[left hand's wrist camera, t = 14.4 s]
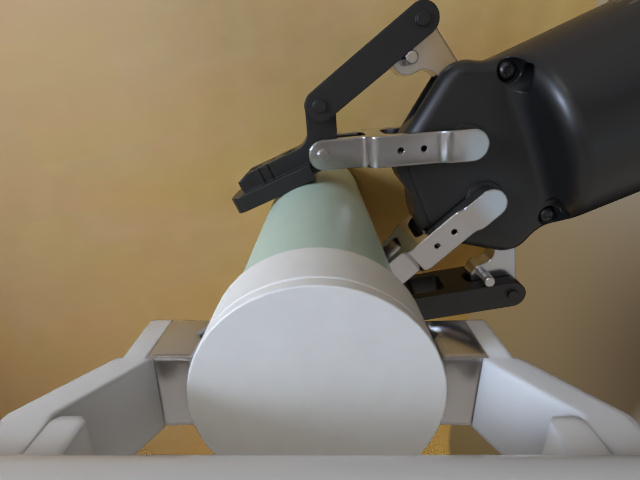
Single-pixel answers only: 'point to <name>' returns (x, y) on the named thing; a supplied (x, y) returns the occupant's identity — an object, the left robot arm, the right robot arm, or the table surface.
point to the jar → (320, 220)
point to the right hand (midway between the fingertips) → (268, 252)
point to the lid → (317, 362)
